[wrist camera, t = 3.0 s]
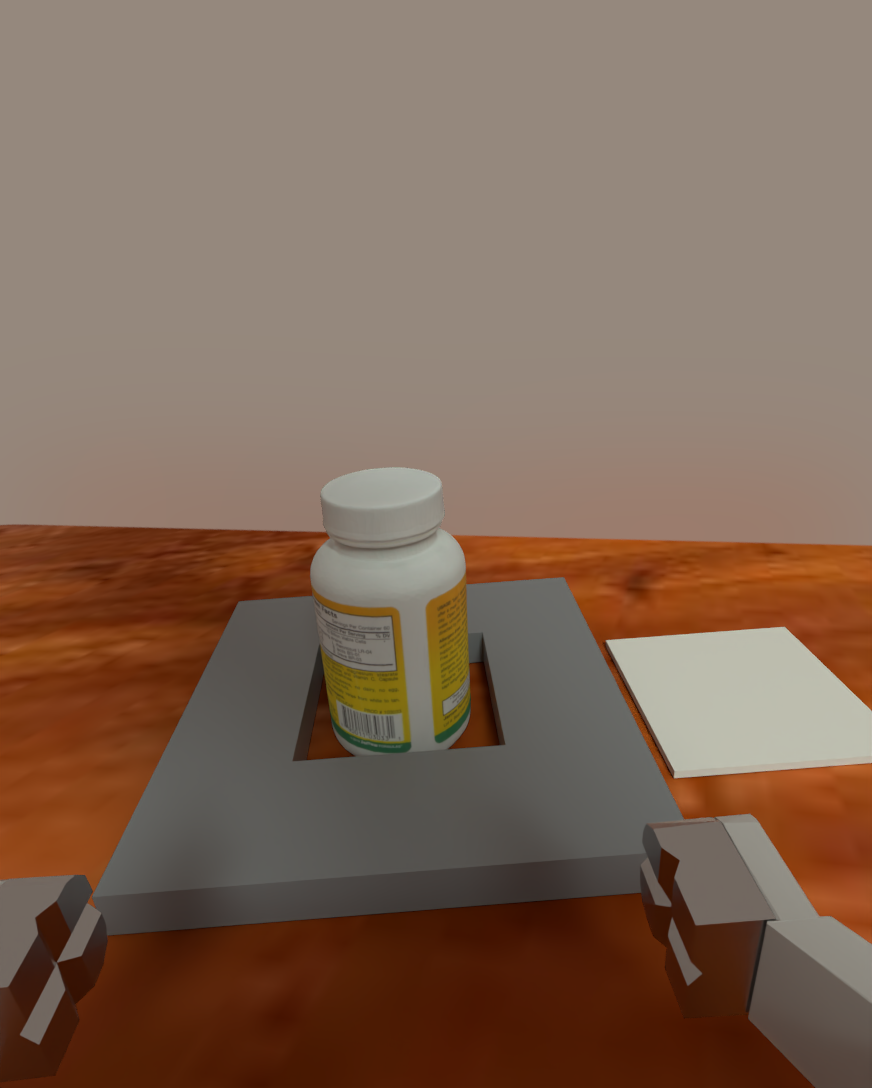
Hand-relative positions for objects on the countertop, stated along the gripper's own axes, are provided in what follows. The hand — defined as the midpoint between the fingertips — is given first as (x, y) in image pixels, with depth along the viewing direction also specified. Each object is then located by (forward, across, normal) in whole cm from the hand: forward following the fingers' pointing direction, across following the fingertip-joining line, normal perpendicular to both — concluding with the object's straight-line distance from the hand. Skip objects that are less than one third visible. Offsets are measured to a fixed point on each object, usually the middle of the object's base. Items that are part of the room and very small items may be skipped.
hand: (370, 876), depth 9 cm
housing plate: (+13, 0, +8) cm, 16 cm away
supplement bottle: (+13, 0, +8) cm, 16 cm away
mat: (+13, -13, +8) cm, 20 cm away
